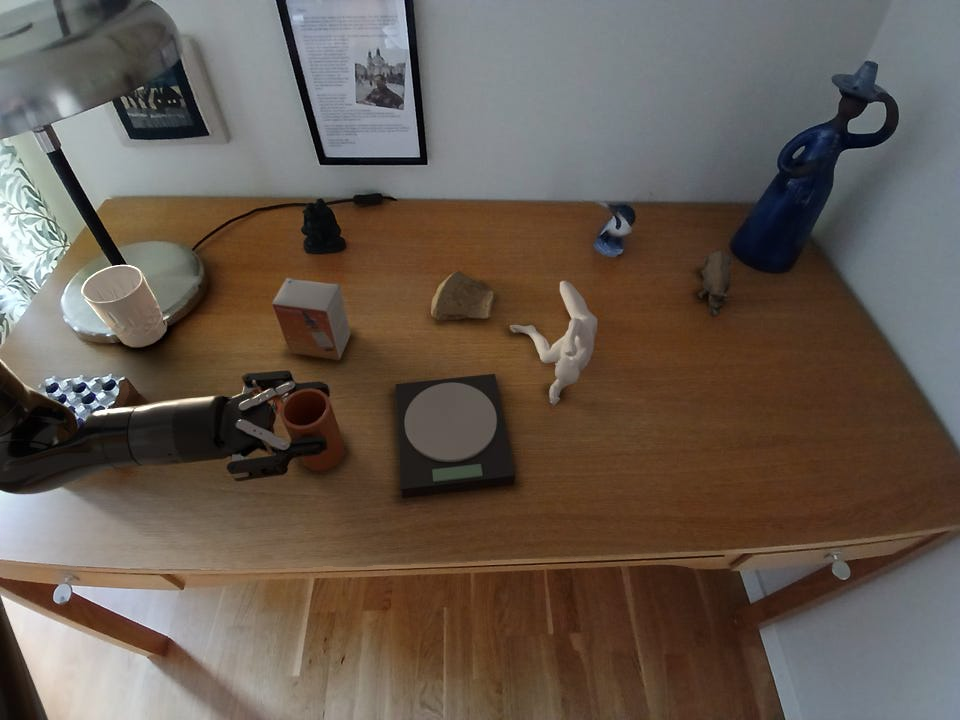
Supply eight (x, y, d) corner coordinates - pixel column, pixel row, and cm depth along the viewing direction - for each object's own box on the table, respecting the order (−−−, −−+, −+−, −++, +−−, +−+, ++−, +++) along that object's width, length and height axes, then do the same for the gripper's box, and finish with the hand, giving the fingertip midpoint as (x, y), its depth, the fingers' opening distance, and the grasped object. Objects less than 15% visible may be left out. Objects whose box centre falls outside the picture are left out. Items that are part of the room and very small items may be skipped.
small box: (289, 354, 83) (269, 303, 75) (302, 327, 87) (285, 276, 79) (340, 361, 82) (326, 311, 74) (352, 333, 86) (339, 283, 78)
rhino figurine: (695, 325, 88) (708, 297, 83) (697, 269, 96) (708, 241, 92) (722, 330, 87) (736, 302, 83) (721, 273, 96) (734, 246, 91)
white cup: (109, 329, 86) (74, 280, 78) (160, 306, 89) (131, 257, 82) (127, 359, 82) (91, 311, 74) (179, 334, 85) (151, 286, 78)
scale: (514, 484, 70) (515, 473, 68) (402, 498, 69) (400, 486, 66) (494, 384, 80) (495, 370, 78) (396, 394, 79) (394, 381, 76)
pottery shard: (430, 326, 89) (488, 329, 85) (422, 305, 86) (483, 306, 82) (452, 285, 96) (507, 286, 92) (445, 264, 93) (502, 264, 90)
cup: (344, 468, 71) (329, 425, 63) (299, 473, 71) (277, 431, 63) (345, 430, 75) (330, 386, 67) (301, 435, 74) (282, 391, 66)
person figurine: (518, 266, 80) (573, 339, 67) (594, 265, 85) (660, 333, 71) (501, 339, 88) (548, 417, 75) (571, 335, 92) (627, 408, 79)
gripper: (156, 469, 58) (318, 451, 59) (183, 363, 67) (323, 350, 68) (185, 501, 64) (331, 484, 65) (206, 399, 73) (335, 386, 74)
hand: (327, 415), depth 67 cm, fingers open, 7 cm apart
